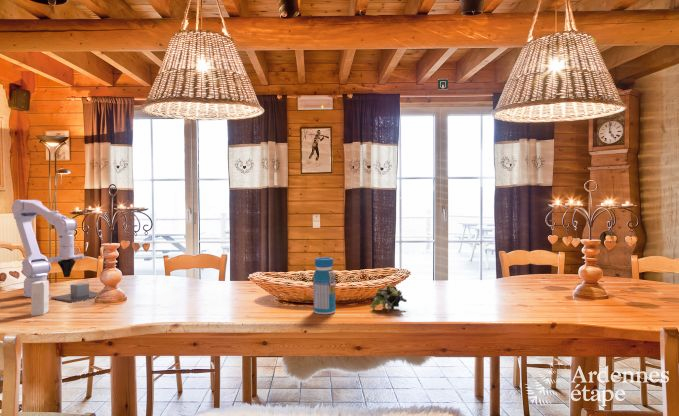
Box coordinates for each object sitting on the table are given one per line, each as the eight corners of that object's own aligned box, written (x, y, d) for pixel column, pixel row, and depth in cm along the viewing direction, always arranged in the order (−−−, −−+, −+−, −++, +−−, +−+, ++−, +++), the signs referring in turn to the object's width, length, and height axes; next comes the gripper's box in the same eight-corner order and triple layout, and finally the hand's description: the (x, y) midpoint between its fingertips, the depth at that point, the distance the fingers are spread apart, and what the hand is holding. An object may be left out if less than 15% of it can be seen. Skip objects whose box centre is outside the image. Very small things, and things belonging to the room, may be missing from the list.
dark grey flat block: (51, 298, 198) (50, 289, 198) (87, 292, 212) (86, 283, 211) (72, 302, 190) (72, 292, 190) (108, 295, 204) (107, 286, 204)
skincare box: (36, 312, 173) (35, 280, 173) (49, 311, 174) (49, 280, 174) (30, 316, 167) (30, 283, 167) (44, 315, 168) (44, 282, 168)
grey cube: (70, 296, 200) (70, 284, 199) (82, 293, 204) (82, 282, 204) (77, 297, 197) (77, 285, 197) (89, 294, 202) (89, 283, 201)
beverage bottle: (315, 315, 163) (315, 260, 163) (311, 310, 171) (310, 257, 171) (338, 313, 165) (337, 259, 165) (332, 308, 173) (332, 256, 173)
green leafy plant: (391, 322, 173) (409, 296, 174) (389, 324, 163) (409, 297, 163) (367, 304, 176) (385, 279, 176) (364, 305, 165) (383, 278, 166)
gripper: (54, 247, 190) (54, 280, 191) (88, 245, 203) (88, 275, 203) (45, 247, 194) (45, 278, 194) (78, 244, 207) (79, 274, 207)
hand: (66, 277), depth 199 cm, fingers closed
